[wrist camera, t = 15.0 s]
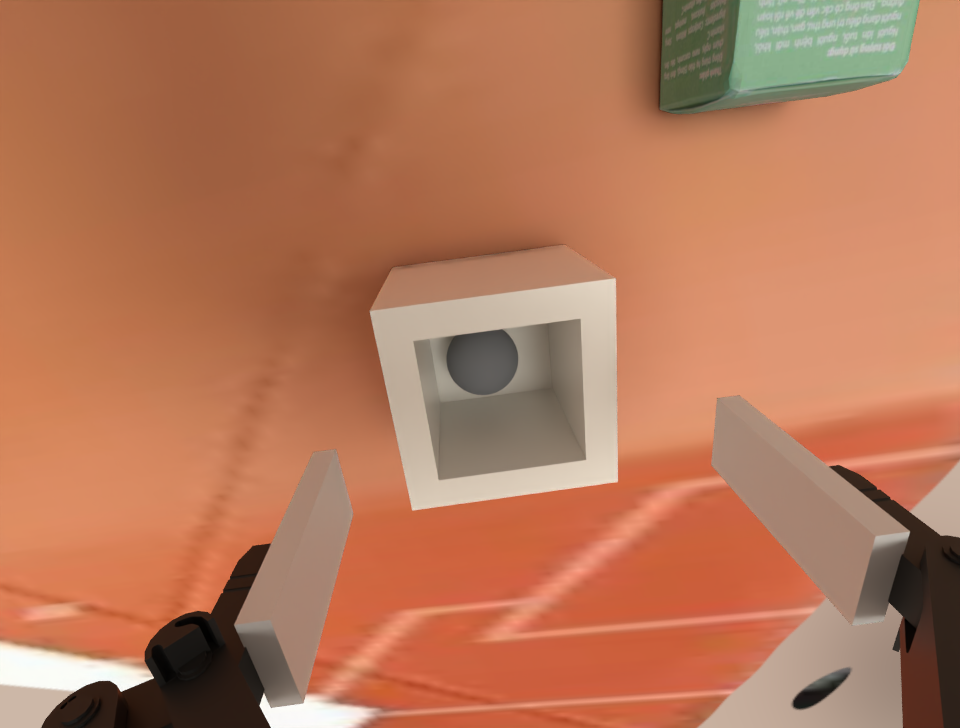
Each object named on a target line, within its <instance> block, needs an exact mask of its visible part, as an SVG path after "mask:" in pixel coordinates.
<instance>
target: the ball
mask: <svg viewBox="0 0 960 728" xmlns="http://www.w3.org/2000/svg"><path fill="white" fill-rule="evenodd" d="M446 360H447V368H448V371H449V373H450V376H451V378H452V379H453V381H454V382H455V383H456V384H457V385H458V386H459V387H460V388H462V389H463V390H465V391H467V392H469V393H472V394H476V395H489V394H493V393H496V392H498V391H500V390H502V389H503V388H505V387H506V386H507V385H508V384H509V383H510V382H511V380H512V379H513V377H514V375H515V373H516V371H517V367H518V352H517V348H516V345H515V343H514V341H513V340H512V338H511V337H510V336H509V334H507V333H506V332H505V331H504V330H503V329H499V330H492V331H484V332H477V333H469V334H462V335H455V337H454V338H453V339H452V341H451V343H450V345H449V347H448V351H447V359H446Z"/></svg>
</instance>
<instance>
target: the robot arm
mask: <svg viewBox="0 0 960 728" xmlns="http://www.w3.org/2000/svg"><path fill="white" fill-rule="evenodd" d="M711 465H712V466H713V468H714V469H715V470H716V471H717V472H718V473H719V474H720V476H721V477H722V478H723V479H724V480H725V481H726V482H727V484H728V485H729V486H730V487H731V488H732V489H733V490H734V492H735V493H736V494H737V495H738V496H739V497H740V498H741V500H742V501H743V502H744V503H745V504H746V505H747V506H748V508H749V509H750V510H751V511H752V512H753V513H754V514H755V516H756V517H757V518H758V519H759V520H760V521H761V522H762V524H763V525H764V526H765V527H766V528H767V529H768V530H769V532H770V533H771V534H772V535H773V536H774V537H775V539H776V540H777V541H778V542H779V543H780V544H781V545H782V547H783V548H784V549H785V550H786V551H787V552H788V553H789V555H790V556H791V557H792V558H793V559H794V560H795V561H796V563H797V564H798V565H799V566H800V567H801V568H802V569H803V571H804V572H805V573H806V574H807V575H808V576H809V577H810V579H811V580H812V581H813V582H814V583H815V584H816V585H817V587H818V588H819V589H820V590H821V591H822V592H823V593H824V595H825V596H826V597H827V598H828V599H829V600H830V601H831V603H833V605H834V606H835V607H836V608H837V609H838V610H839V612H840V613H841V614H842V615H843V616H844V617H845V619H846V620H847V621H848V622H849V623H850V624H851V625H852V626H854V625H862V624H868V623H876V622H883V621H884V617H885V614H886V611H887V607H888V604H889V603H890V604H891V605H892V606H893V607H894V608H895V609H896V610H897V611H898V612H899V613H900V614H901V615H902V616H903V619H902V621H901V624H900V627H899V631H898V634H897V637H896V641H895V643H894V647H893V650H895V651H897V652H899V650H900V651H901V652H900V653H901V680H902V711H903V728H960V538H959V537H953V536H940V535H939V534H938V533H937V532H935V531H934V530H933V529H931V528H930V527H929V526H927V525H926V524H925V523H923V522H922V521H921V520H919V519H918V518H916V517H915V516H914V515H912V514H911V513H910V512H909V511H907V510H906V509H905V508H903V507H902V506H901V505H899V504H898V503H897V502H895V501H894V500H891V499H890V497H889V496H888V495H886V494H885V493H884V492H882V491H881V490H877V487H876V486H874V485H873V484H872V483H870V482H869V481H868V480H866V479H865V478H864V477H862V476H861V475H859V474H857V473H855V472H853V471H851V470H848V469H846V468H844V467H842V466H840V465H836V466H827V465H826V464H825V463H824V462H822V461H821V460H820V459H819V458H817V457H816V456H815V455H814V454H812V453H811V452H810V451H809V450H807V449H806V448H805V447H803V446H802V445H801V444H800V443H798V442H797V441H796V440H795V439H793V438H792V437H791V436H790V435H788V434H787V433H786V432H785V431H783V430H782V429H781V428H780V427H778V426H777V425H776V424H775V423H773V422H772V421H771V420H770V419H768V418H767V417H766V416H765V415H763V414H762V413H761V412H760V411H758V410H757V409H756V408H754V407H753V406H752V405H751V404H749V403H748V402H747V401H746V400H744V399H743V398H742V397H741V396H739V395H738V396H730V397H723V398H717V407H716V418H715V429H714V441H713V452H712V464H711ZM352 517H353V510H352V507H351V503H350V499H349V496H348V492H347V488H346V485H345V481H344V477H343V474H342V470H341V466H340V462H339V459H338V455H337V451H336V449H333V450H325V451H318V452H313V454H312V456H311V458H310V460H309V463H308V465H307V467H306V469H305V471H304V473H303V476H302V478H301V480H300V482H299V484H298V487H297V489H296V491H295V493H294V495H293V497H292V500H291V502H290V504H289V506H288V508H287V511H286V513H285V515H284V517H283V519H282V521H281V524H280V526H279V528H278V530H277V532H276V535H275V537H274V539H273V541H272V543H271V544H264V545H256V546H252V547H251V549H250V550H249V551H248V552H247V553H246V554H245V555H244V556H243V557H242V558H241V559H240V560H239V561H238V563H237V565H236V566H235V568H234V570H233V572H232V574H231V576H230V580H228V582H227V584H226V586H225V588H224V589H223V593H221V595H220V597H219V599H218V601H217V603H216V605H215V607H214V609H213V611H212V613H211V614H209V613H208V612H202V611H196V612H191V613H187V614H184V615H182V616H180V617H178V618H176V619H174V620H172V621H171V622H169V623H168V624H167V625H165V626H164V627H163V628H161V629H160V630H159V631H158V632H157V634H156V635H155V636H154V637H153V638H152V639H151V640H150V642H149V644H148V646H147V648H146V650H145V663H146V664H147V666H148V668H149V670H150V671H151V673H152V675H153V677H154V679H151V680H149V681H146V682H144V683H142V684H139V685H137V686H134V687H132V688H129V689H127V690H125V691H122V692H120V690H119V688H118V687H117V685H115V684H114V683H112V682H111V681H98V682H95V683H92V684H89V685H86V686H84V687H82V688H81V689H79V690H77V691H76V692H74V693H72V694H71V695H70V696H68V697H67V698H66V699H65V700H63V701H62V702H61V703H60V704H59V705H57V706H56V708H55V709H54V710H53V711H52V712H51V713H50V715H49V716H48V717H47V718H46V720H45V721H44V723H43V725H42V728H271V727H270V725H269V723H268V721H267V720H266V718H265V716H264V714H263V712H262V710H261V708H260V706H259V705H260V702H261V699H262V696H263V693H264V694H265V696H266V698H267V700H268V703H269V705H270V707H271V708H273V707H280V706H287V705H294V704H302V703H304V699H305V695H306V691H307V688H308V684H309V680H310V676H311V673H312V669H313V665H314V661H315V657H316V654H317V650H318V646H319V642H320V638H321V635H322V631H323V627H324V623H325V619H326V616H327V612H328V608H329V604H330V601H331V597H332V593H333V589H334V585H335V582H336V578H337V574H338V570H339V566H340V563H341V559H342V555H343V551H344V547H345V544H346V540H347V536H348V532H349V529H350V525H351V521H352Z"/></svg>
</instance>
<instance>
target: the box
mask: <svg viewBox="0 0 960 728" xmlns="http://www.w3.org/2000/svg"><path fill="white" fill-rule="evenodd" d="M919 1H920V0H663V10H662V54H661V80H660V110H663V111H666V112H669V113H674V114H693V113H699V112H705V111H713V110H720V109H729V108H737V107H745V106H753V105H761V104H769V103H778V102H786V101H795V100H802V99H810V98H818V97H826V96H831V95H836V94H841V93H846V92H850V91H855V90H859V89H862V88H865V87H869V86H872V85H875V84H878V83H882V82H885V81H889V80H891V79H894V78H896V77H897V76H898V75H899V74H900V73H901V72H902V70H903V68H904V67H905V65H906V64H907V62H908V59H909V53H910V48H911V42H912V37H913V32H914V27H915V22H916V16H917V11H918V6H919Z"/></svg>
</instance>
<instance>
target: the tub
mask: <svg viewBox="0 0 960 728" xmlns="http://www.w3.org/2000/svg"><path fill="white" fill-rule="evenodd" d="M370 315H371V320H372V325H373V329H374V334H375V339H376V343H377V348H378V353H379V357H380V362H381V367H382V371H383V376H384V381H385V385H386V390H387V395H388V399H389V404H390V409H391V413H392V418H393V423H394V427H395V432H396V437H397V441H398V446H399V451H400V455H401V460H402V465H403V469H404V474H405V478H406V483H407V488H408V492H409V497H410V502H411V506H412V510H419V509H426V508H434V507H441V506H448V505H455V504H462V503H469V502H477V501H484V500H491V499H498V498H505V497H513V496H520V495H527V494H534V493H541V492H548V491H556V490H563V489H570V488H577V487H584V486H592V485H599V484H606V483H613V482H618V447H617V342H616V278H615V277H613V276H612V275H610V274H609V273H607V272H606V271H604V270H603V269H601V268H600V267H598V266H597V265H595V264H594V263H592V262H591V261H589V260H588V259H586V258H585V257H583V256H582V255H580V254H579V253H577V252H576V251H574V250H573V249H571V248H570V247H568V246H567V245H558V246H550V247H542V248H535V249H527V250H519V251H512V252H504V253H497V254H489V255H481V256H474V257H466V258H459V259H451V260H443V261H436V262H428V263H421V264H413V265H405V266H398V267H392V269H391V271H390V273H389V275H388V277H387V279H386V280H385V282H384V284H383V286H382V288H381V290H380V292H379V294H378V296H377V298H376V300H375V302H374V303H373V305H372V307H371V309H370ZM499 329H503V330H504V331H505V332H506V333H507V334H509V336H510V337H511V338H512V340H513V341H514V343H515V345H516V348H517V352H518V367H517V371H516V373H515V375H514V377H513V379H512V380H511V382H510V383H509V384H508V385H507V386H506V387H505V388H503V389H502V390H500V391H498V392H496V393H493V394H489V395H476V394H472V393H469V392H467V391H465V390H463V389H462V388H460V387H459V386H458V385H457V384H456V383H455V382H454V381H453V379H452V378H451V376H450V373H449V371H448V368H447V360H446V359H447V351H448V347H449V345H450V343H451V341H452V339H453V338H454V337H455V335H462V334H469V333H477V332H484V331H492V330H499Z"/></svg>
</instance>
